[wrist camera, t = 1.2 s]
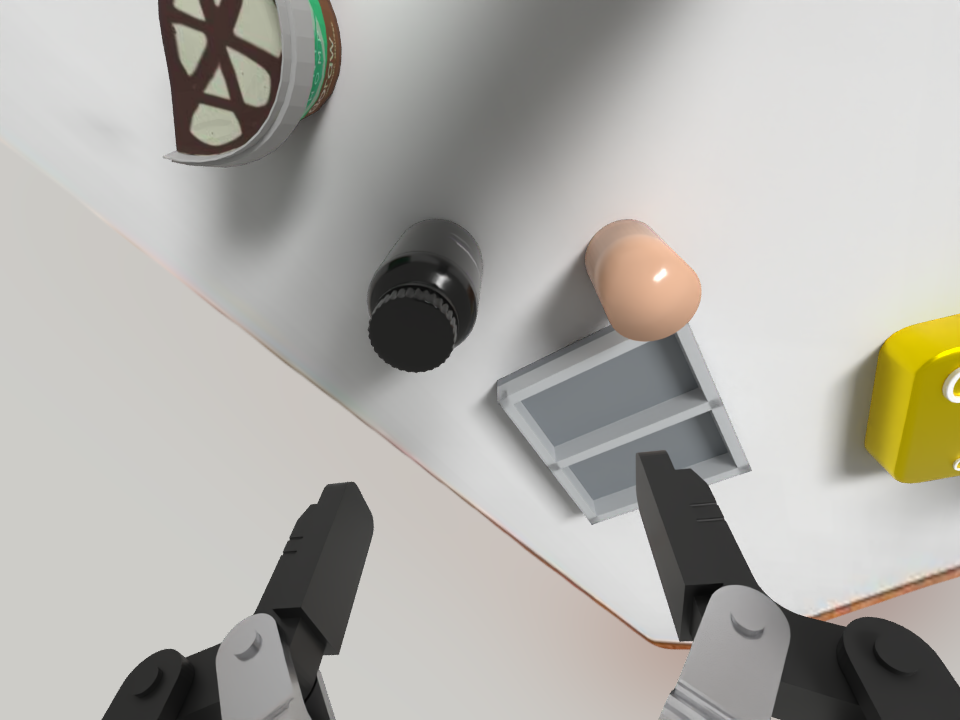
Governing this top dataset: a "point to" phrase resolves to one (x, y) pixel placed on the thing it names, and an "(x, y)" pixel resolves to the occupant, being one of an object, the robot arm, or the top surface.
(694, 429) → the rack
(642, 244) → the peach rounded capsule
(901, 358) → the element tile
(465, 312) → the supplement bottle
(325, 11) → the food container
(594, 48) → the top surface
